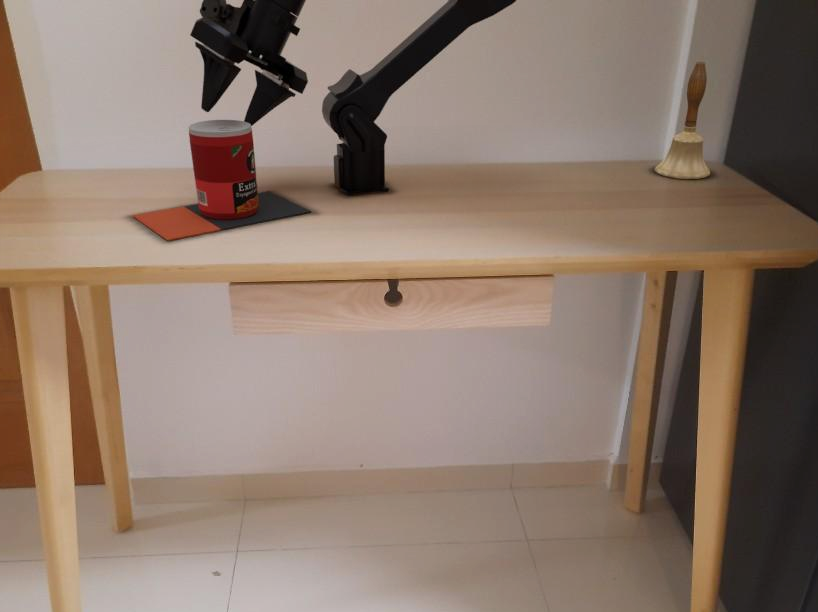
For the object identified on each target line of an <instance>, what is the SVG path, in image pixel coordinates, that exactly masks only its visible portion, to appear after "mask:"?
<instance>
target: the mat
mask: <svg viewBox="0 0 818 612" xmlns="http://www.w3.org/2000/svg"><path fill="white" fill-rule="evenodd" d="M258 202H259V205H258V210H257V212H256V213H255V214H253V215H252V216H249V217H245V218H240V219H231V220H220V219H212V218H208V217H206V216H204V215H202V213H201V211H200V209H199V206H198V203H193V204H188V205H184V207H185V208H187V209H189V210H190V211H192V212H194V213H195V214H197V215H198V216H200V217H202V218H203V219H205V220H207V221H208V222H210V223H212V224H213V225H215V226H217V227H218V228H220V229H221V231H226V230H230V229H231V230H232V229H235V228H240V227H245V226H250V225H251V226H252V225H255V224H260V223H265V222H270V221H275V220H280V219H285V218H291V217H296V216H301V215H306V214H311V213H312V210H310V209H308V208H305V207H304V206H302V205H299V204H296V203H295V202H293V201H291V200H289V199H287V198H285V197H282V196H280V195H278V194H276V193H274V192H273V191H270V190H268V191H262V192H258Z"/></svg>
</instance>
